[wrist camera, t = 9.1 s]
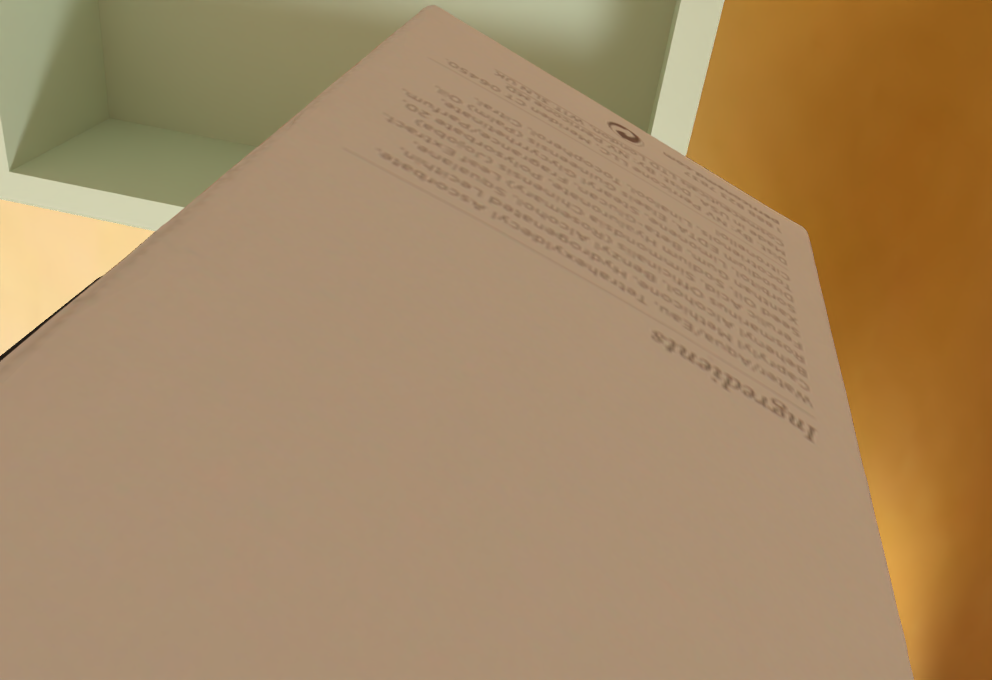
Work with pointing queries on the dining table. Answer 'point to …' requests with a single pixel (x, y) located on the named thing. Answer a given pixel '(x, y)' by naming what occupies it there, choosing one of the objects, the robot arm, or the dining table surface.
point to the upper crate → (280, 82)
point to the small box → (445, 413)
